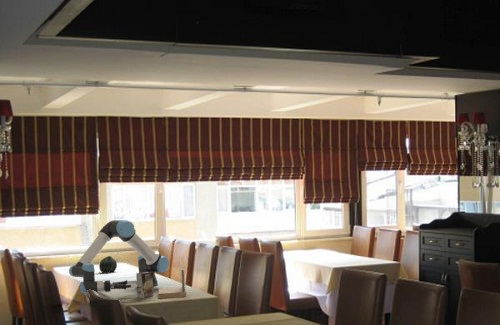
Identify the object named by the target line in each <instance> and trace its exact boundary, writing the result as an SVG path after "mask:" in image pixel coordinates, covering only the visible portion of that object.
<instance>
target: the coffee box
mask: <svg viewBox="0 0 500 325" xmlns="http://www.w3.org/2000/svg"><path fill="white" fill-rule="evenodd" d="M135 276H136V281H137V285H136V293H137V294H136V296H137V298H141V299H144V298H149V297H154V286H153V277H152V272H142V273H139V272H138V273H137V272H136V275H135Z"/></svg>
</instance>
